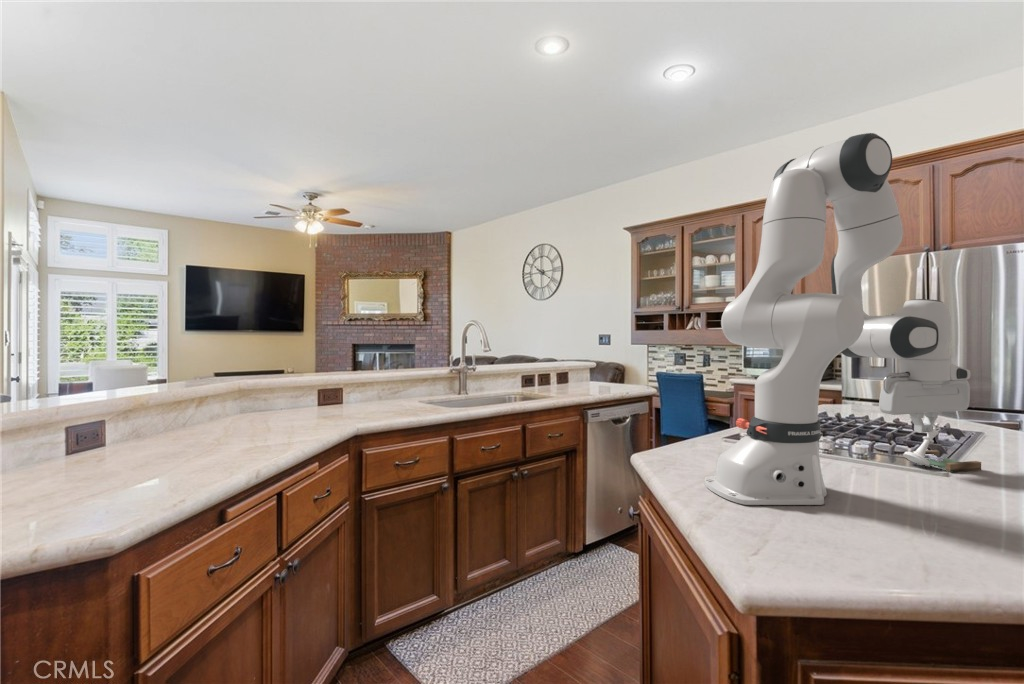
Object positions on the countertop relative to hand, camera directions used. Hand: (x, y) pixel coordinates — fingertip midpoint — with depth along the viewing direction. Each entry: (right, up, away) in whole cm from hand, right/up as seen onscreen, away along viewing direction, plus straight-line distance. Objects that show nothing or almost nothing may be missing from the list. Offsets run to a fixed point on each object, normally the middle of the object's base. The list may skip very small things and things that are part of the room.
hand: (923, 431), depth 110 cm
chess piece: (-2, -7, 0) cm, 7 cm away
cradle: (+5, -8, +1) cm, 9 cm away
